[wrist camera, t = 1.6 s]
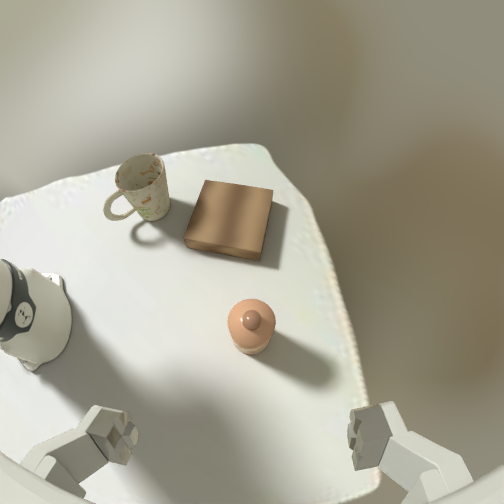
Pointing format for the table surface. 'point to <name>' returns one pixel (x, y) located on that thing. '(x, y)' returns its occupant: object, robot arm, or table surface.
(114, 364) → the table surface
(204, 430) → the table surface
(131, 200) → the mug
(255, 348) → the canister
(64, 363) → the table surface
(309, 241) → the table surface
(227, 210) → the pedestal
